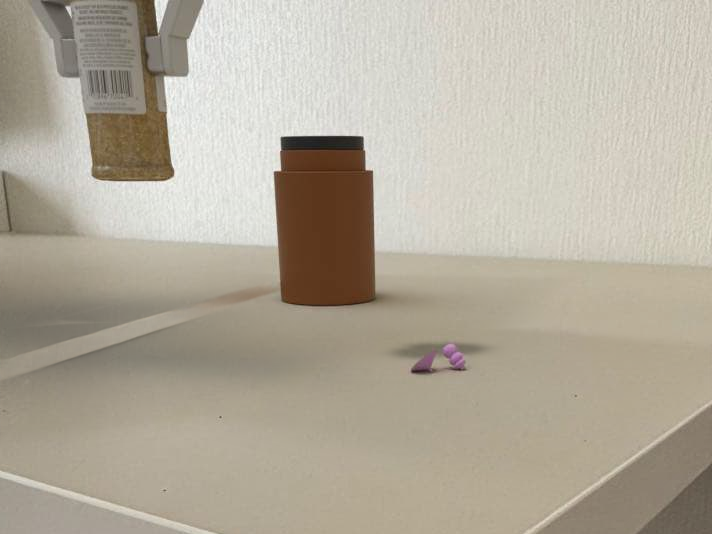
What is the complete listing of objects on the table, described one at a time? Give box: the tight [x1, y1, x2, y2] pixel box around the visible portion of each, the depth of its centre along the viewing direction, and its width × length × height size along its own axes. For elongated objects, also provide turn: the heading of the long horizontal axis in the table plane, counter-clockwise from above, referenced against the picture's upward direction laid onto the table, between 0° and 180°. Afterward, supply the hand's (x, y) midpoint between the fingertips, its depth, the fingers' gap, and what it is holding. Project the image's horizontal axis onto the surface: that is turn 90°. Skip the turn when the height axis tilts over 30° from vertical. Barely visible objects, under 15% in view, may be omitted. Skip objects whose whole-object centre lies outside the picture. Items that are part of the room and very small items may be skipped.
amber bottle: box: [273, 135, 377, 306], centre depth 72 cm, size 8×8×12 cm
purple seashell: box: [410, 343, 467, 373], centre depth 49 cm, size 3×2×2 cm
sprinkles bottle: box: [70, 0, 175, 182], centre depth 47 cm, size 5×5×13 cm
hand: (123, 77), depth 47 cm, fingers closed on sprinkles bottle, 4 cm apart
